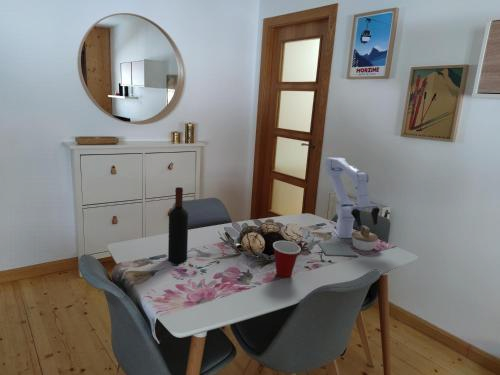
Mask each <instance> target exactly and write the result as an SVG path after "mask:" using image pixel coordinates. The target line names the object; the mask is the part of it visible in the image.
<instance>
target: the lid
mask: <svg viewBox="0 0 500 375" xmlns="http://www.w3.org/2000/svg"><path fill="white" fill-rule="evenodd" d="M352 237H353V238H355V239H358V240H361V241H367V242H373V241H376V242H377V241H378V238H379V237H378V235H377V234H376V233H373V232H371V229H370V228H369V227H368V226H366V225H361V228H360V230H355V231H352ZM353 238H352V239H353Z"/></svg>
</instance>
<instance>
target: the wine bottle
mask: <svg viewBox="0 0 500 375" xmlns="http://www.w3.org/2000/svg"><path fill="white" fill-rule="evenodd" d="M174 192H175V194H174V195H175V198H174V199H175V200H174V201H175V203H174V204H175V205H174V208H172V209H171V210H170V212H169V214H168V249H167V250H168V253H167V254H168V258H167V260H168V261H169V263H171V264H172V263H173V264H183V263H186V262H187V260H188V238H189V213H188V211H187V210H186V208H184V207H183V202H184V201H183V200H184V199H183V195H184V188H183V187H180V186H177V187H175V191H174Z"/></svg>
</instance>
